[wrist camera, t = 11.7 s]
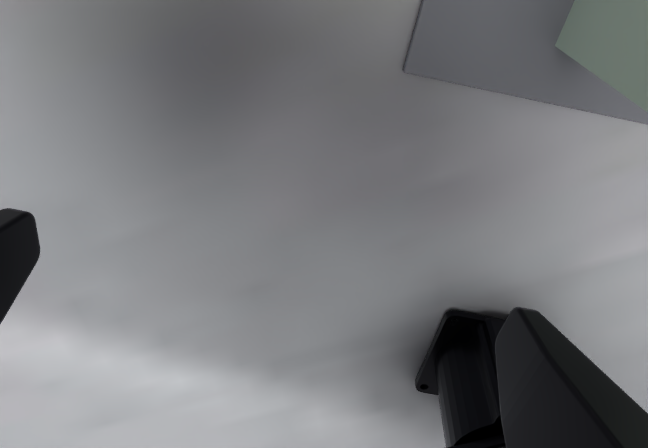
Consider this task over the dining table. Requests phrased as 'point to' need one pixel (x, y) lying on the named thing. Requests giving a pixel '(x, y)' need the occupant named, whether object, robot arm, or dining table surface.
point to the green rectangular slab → (611, 43)
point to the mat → (510, 54)
